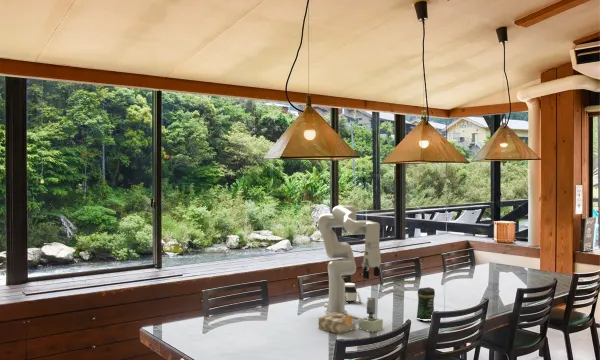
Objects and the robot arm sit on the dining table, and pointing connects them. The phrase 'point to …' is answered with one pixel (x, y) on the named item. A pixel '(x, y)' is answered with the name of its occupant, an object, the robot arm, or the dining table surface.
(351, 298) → the spread jar
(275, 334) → the dining table surface
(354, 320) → the locking fork
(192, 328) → the dining table surface
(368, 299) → the peg
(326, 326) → the socket block
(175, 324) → the dining table surface
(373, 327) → the pale green square tray
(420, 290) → the coffee jar
